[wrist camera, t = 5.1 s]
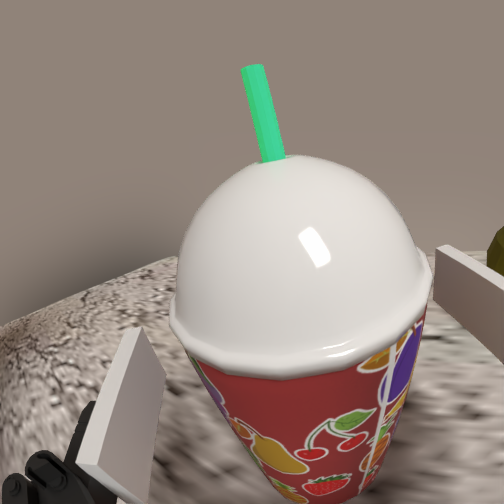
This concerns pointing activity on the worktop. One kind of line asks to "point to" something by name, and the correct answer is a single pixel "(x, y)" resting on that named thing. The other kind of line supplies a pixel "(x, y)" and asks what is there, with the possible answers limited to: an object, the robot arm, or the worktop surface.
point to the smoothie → (302, 313)
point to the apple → (496, 253)
